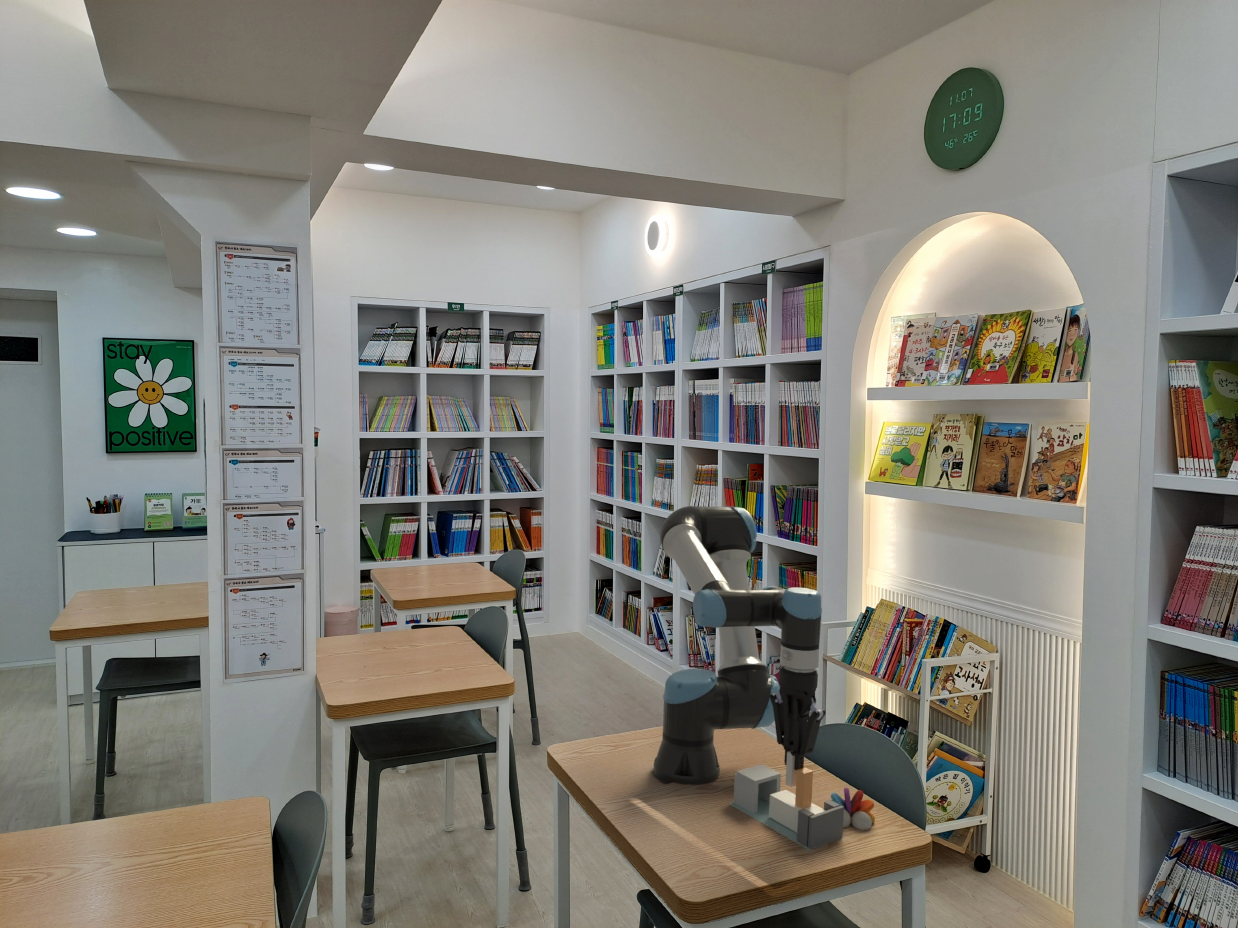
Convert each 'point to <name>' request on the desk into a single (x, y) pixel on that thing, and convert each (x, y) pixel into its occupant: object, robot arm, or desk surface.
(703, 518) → the robot arm
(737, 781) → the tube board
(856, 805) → the rainbow disc toy
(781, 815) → the block with wooden peg
